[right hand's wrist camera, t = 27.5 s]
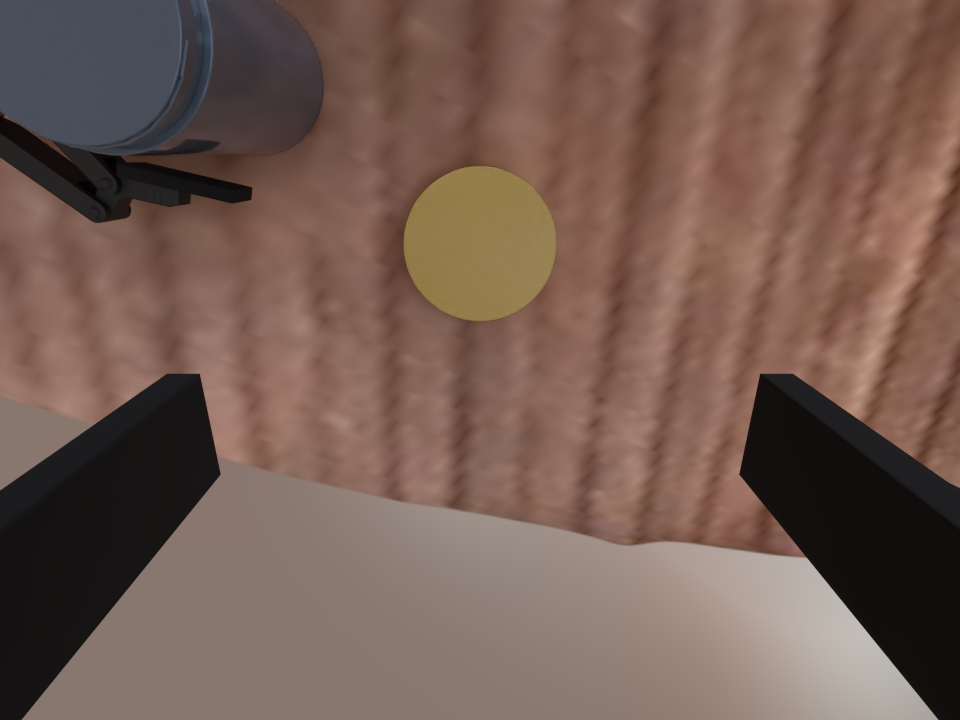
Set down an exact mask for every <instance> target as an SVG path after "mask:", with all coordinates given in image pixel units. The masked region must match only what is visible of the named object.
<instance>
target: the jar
mask: <svg viewBox="0 0 960 720" xmlns="http://www.w3.org/2000/svg"><path fill="white" fill-rule="evenodd" d="M322 97H323V75H322V69H321V64H320V60H319V57H318V54H317V51H316V49H315V47H314V45H313V42H312V40H311V39H310V37H309V35H308V34H307V32H306V30H305V29H304V28H303V26H302V25H301V24H300V23H299V21H298V20H297V19H296V18H295V17H294V16H293V15H292V14H291V13H290V12H288V11H287V10H286V9H285V8H284V7H282V6H281V5H280V4H278V3H277V2H276V1H274V0H0V111H1V112H2V113H3V114H5V115H6V116H8V117H9V118H10V119H12V120H13V121H15V122H16V123H18V124H19V125H21V126H23V127H25V128H27V129H29V130H30V131H32V132H34V133H36V134H39V135H40V137H43V138H46V139H49V140H52V141H55V142H58V143H61V144H64V145H67V146H70V147H73V148H80V149H83V150H86V151H90V152H94V153H98V154H105V155H271V154H276V153H279V152H283V151H285V150H287V149H289V148H291V147H293V146H294V145H296V144H297V143H298V142H299V141H301V140H302V139H303V138H304V137H305V136H306V134H307V133H308V132H309V131H310V129H311V128H312V126H313V125H314V123H315V121H316V119H317V116H318V114H319V111H320V107H321V103H322Z"/></svg>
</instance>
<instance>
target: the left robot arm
mask: <svg viewBox="0 0 960 720" xmlns="http://www.w3.org/2000/svg"><path fill="white" fill-rule="evenodd" d="M4 115H5V114H3V113H2V112H1V111H0V158H2V159H3V160H5V161H6V162H8V163H9V164H10V165H12V166H13V167H15V168H16V169H18V170H19V171H21V172H22V173H23V174H25V175H26V176H28V177H29V178H31V179H32V180H33V181H35V182H36V183H38V184H39V185H41V186H42V187H43V188H45V189H46V190H48V191H49V192H51V193H52V194H54V195H55V196H56V197H58V198H59V199H61V200H62V201H64V202H65V203H66V204H68V205H69V206H71V207H72V208H74V209H75V210H76V211H78V212H79V213H81V214H82V215H84V216H85V217H87V218H88V219H89V220H91V221H93V222H95V223H102V222H107V221H113V220H119V219H124V218H127V217H129V216H130V214H131V207H130V203H131V201H132V199H137V200H141V201H146V202H150V203H155V204H160V205H163V206H168V207H172V206H178V205H184V204H190V200H191V194H194V195H198V196H203V197H207V198H211V199H215V200H220V201H224V202H228V203H237V202H242V201H248V200H251V196H252V187H248V186H243V185H239V184H235V183H231V182H226V181H222V180H218V179H214V178H209V177H205V176H201V175H197V174H192V173H188V172H184V171H180V170H175V169H171V168H167V167H163V166H158V165H154V164H150V163H146V162H135V163H126V162H125V160H124V159H123V158H122V157H121V156H120V155H105V154H98V153H94V152H90V151H86V150H83V149H80V148H73V147H70V146H67V145H64V144H61V143H58V142H55V141H53V142H54V143H55V144H56V145H57V146H58V147H59V148H60V149H61V150H62V151H63V153H64V154H65V155H66V156H67V157H68V158H69V159H70V160H71V161H72V162H73V163H72V162H71V161H69V160H68V159H67V158H65V157H64V156H62V155H61V154H60V153H58V152H57V151H55V150H54V149H53V148H51V147H50V146H48V145H47V144H46V143H44V142H43V141H41V140H40V139H39V138H37V137H36V136H34V135H33V134H32V133H30V132H29V131H28V130H26V129H24V128H23V127H21V126H20V125H18V124H16V123H14V122H12V121H10V120H8V119H5V118H3V117H4Z"/></svg>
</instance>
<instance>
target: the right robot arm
mask: <svg viewBox="0 0 960 720" xmlns="http://www.w3.org/2000/svg"><path fill="white" fill-rule="evenodd" d="M739 475H740V476H741V477H742V478H743V480H744V481H745V482H746V483H747V484H748V486H749V487H750V488H751V489H752V491H753V492H754V493H755V494H756V496H757V497H758V498H759V499H760V500H761V502H762V503H763V504H764V505H765V507H766V508H767V509H768V510H769V512H770V513H771V514H772V515H773V516H774V518H775V519H776V520H777V521H778V523H779V524H780V525H781V526H782V528H783V529H784V530H785V531H786V533H787V534H788V535H789V536H790V537H791V539H792V540H793V541H794V542H795V544H796V545H797V546H798V547H799V549H800V550H801V551H802V552H803V553H804V555H805V556H806V557H807V558H808V560H809V561H810V562H811V563H812V565H813V566H814V567H815V568H816V569H817V571H818V572H819V573H820V574H821V576H822V577H823V578H824V579H825V581H826V582H827V583H828V584H829V585H830V587H831V588H832V589H833V590H834V592H835V593H836V594H837V595H838V597H839V598H840V599H841V600H842V601H843V603H844V604H845V605H846V606H847V608H848V609H849V610H850V611H851V612H852V614H853V615H854V616H855V617H856V619H857V620H858V621H859V622H860V624H861V625H862V626H863V627H864V629H865V630H866V631H867V632H868V633H869V635H870V636H871V637H872V638H873V640H874V641H875V642H876V643H877V645H878V646H879V647H880V648H881V649H882V651H883V652H884V653H885V654H886V656H887V657H888V658H889V659H890V661H891V662H892V663H893V664H894V666H895V667H896V668H897V669H898V670H899V672H900V673H901V674H902V675H903V677H904V678H905V679H906V680H907V682H908V683H909V684H910V685H911V686H912V688H913V689H914V690H915V691H916V693H917V694H918V695H919V696H920V698H921V699H922V700H923V701H924V702H925V704H926V705H927V706H928V707H929V709H930V710H931V711H932V712H933V714H934V715H935V716H936V717H937V718H938V720H960V488H959V487H956V486H954V485H952V484H950V483H948V482H947V481H945V480H944V479H943V478H941V477H940V476H938V475H937V474H935V473H934V472H933V471H931V470H930V469H928V468H927V467H925V466H924V465H922V464H921V463H920V462H918V461H917V460H915V459H914V458H912V457H911V456H910V455H908V454H907V453H905V452H904V451H902V450H901V449H900V448H898V447H897V446H895V445H894V444H892V443H891V442H890V441H888V440H887V439H885V438H884V437H882V436H881V435H880V434H878V433H877V432H875V431H874V430H872V429H871V428H870V427H868V426H867V425H865V424H864V423H862V422H861V421H860V420H858V419H857V418H855V417H854V416H852V415H851V414H850V413H848V412H847V411H845V410H844V409H842V408H841V407H840V406H838V405H837V404H835V403H834V402H832V401H831V400H830V399H828V398H827V397H825V396H824V395H822V394H821V393H820V392H818V391H817V390H815V389H814V388H812V387H811V386H810V385H808V384H807V383H805V382H804V381H802V380H801V379H800V378H798V377H797V376H795V375H794V374H760V378H759V382H758V387H757V392H756V397H755V402H754V407H753V411H752V416H751V421H750V426H749V431H748V435H747V440H746V445H745V450H744V455H743V459H742V464H741V469H740V474H739ZM219 476H220V469H219V464H218V460H217V455H216V450H215V445H214V440H213V435H212V431H211V426H210V421H209V416H208V411H207V407H206V402H205V397H204V392H203V387H202V382H201V378H200V374H166V375H165V376H163V377H162V378H160V379H159V380H158V381H156V382H155V383H153V384H152V385H150V386H149V387H148V388H146V389H145V390H143V391H142V392H140V393H139V394H138V395H136V396H135V397H133V398H132V399H130V400H129V401H128V402H126V403H125V404H123V405H122V406H120V407H119V408H118V409H116V410H115V411H113V412H112V413H110V414H109V415H108V416H106V417H105V418H103V419H102V420H100V421H99V422H98V423H96V424H95V425H93V426H92V427H90V428H89V429H88V430H86V431H85V432H83V433H82V434H80V435H79V436H78V437H76V438H75V439H73V440H72V441H70V442H69V443H68V444H66V445H65V446H63V447H62V448H60V449H59V450H58V451H56V452H55V453H53V454H52V455H50V456H49V457H48V458H46V459H45V460H43V461H42V462H40V463H39V464H37V465H36V466H35V467H33V468H32V469H30V470H29V471H27V472H26V473H25V474H23V475H22V476H20V477H19V478H17V479H16V480H15V481H13V482H12V483H10V484H9V485H8V486H6V487H5V488H3V489H2V490H0V720H22V718H23V717H24V716H25V715H26V714H27V712H28V711H29V710H30V709H31V707H32V706H33V705H34V704H35V702H36V701H37V700H38V699H39V697H40V696H41V695H42V694H43V693H44V691H45V690H46V689H47V688H48V686H49V685H50V684H51V683H52V682H53V680H54V679H55V678H56V677H57V675H58V674H59V673H60V672H61V670H62V669H63V668H64V667H65V666H66V664H67V663H68V662H69V661H70V659H71V658H72V657H73V656H74V654H75V653H76V652H77V651H78V650H79V648H80V647H81V646H82V645H83V643H84V642H85V641H86V640H87V638H88V637H89V636H90V635H91V633H92V632H93V631H94V630H95V629H96V627H97V626H98V625H99V624H100V622H101V621H102V620H103V619H104V617H105V616H106V615H107V614H108V613H109V611H110V610H111V609H112V608H113V606H114V605H115V604H116V603H117V601H118V600H119V599H120V598H121V597H122V595H123V594H124V593H125V592H126V590H127V589H128V588H129V587H130V585H131V584H132V583H133V582H134V581H135V579H136V578H137V577H138V576H139V574H140V573H141V572H142V571H143V569H144V568H145V567H146V566H147V564H148V563H149V562H150V561H151V560H152V558H153V557H154V556H155V555H156V553H157V552H158V551H159V550H160V549H161V547H162V546H163V545H164V544H165V542H166V541H167V540H168V539H169V537H170V536H171V535H172V534H173V533H174V531H175V530H176V529H177V527H178V526H179V525H180V524H181V523H182V521H183V520H184V519H185V518H186V516H187V515H188V514H189V513H190V512H191V510H192V509H193V508H194V507H195V505H196V504H197V503H198V502H199V500H200V499H201V498H202V497H203V496H204V494H205V493H206V492H207V491H208V489H209V488H210V487H211V486H212V484H213V483H214V482H215V481H216V480H217V478H218V477H219Z"/></svg>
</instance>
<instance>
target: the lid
mask: <svg viewBox="0 0 960 720" xmlns="http://www.w3.org/2000/svg"><path fill="white" fill-rule="evenodd" d="M403 244H404V256H405V262H406V265H407V268H408V271H409V274H410V276H411V278H412V280H413V282H414V284H415V285H416V287H417V289H418V290H419V291H420V292H421V294H422V295H423V296H424V297H425V298H426V299H427V300H428V301H429V302H430V303H431V304H433V305H434V306H435V307H437V308H438V309H440V310H441V311H443V312H445V313H447V314H449V315H452V316H454V317H457V318H461V319H464V320H471V321H489V320H495V319H499V318H503V317H506V316H508V315H511V314H513V313H515V312H517V311H519V310H520V309H522V308H523V307H525V306H526V305H527V304H529V303H530V302H531V301H532V300H533V299H534V298H535V297H536V296H537V295H538V293H539V292H540V291H541V290H542V288H543V287H544V285H545V284H546V282H547V280H548V278H549V276H550V274H551V271H552V268H553V265H554V261H555V256H556V245H557V242H556V231H555V226H554V222H553V219H552V216H551V214H550V212H549V210H548V207H547V205H546V204H545V202H544V201H543V199H542V198H541V196H540V195H539V194H538V193H537V192H536V191H535V190H534V188H533V187H531V186H530V185H529V184H528V183H527V182H526V181H524V180H522V179H521V178H519V177H518V176H516V175H514V174H512V173H510V172H508V171H505V170H502V169H499V168H495V167H489V166H472V167H465V168H461V169H457V170H455V171H452V172H450V173H448V174H446V175H444V176H442V177H441V178H439V179H437V180H436V181H435V182H433V183H432V184H431V185H430V186H428V187H427V189H426V190H425V191H424V192H423V193H422V194H421V195H420V196H419V198H418V199H417V201H416V202H415V204H414V206H413V208H412V209H411V211H410V214H409V216H408V219H407V222H406V226H405V231H404V241H403Z"/></svg>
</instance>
